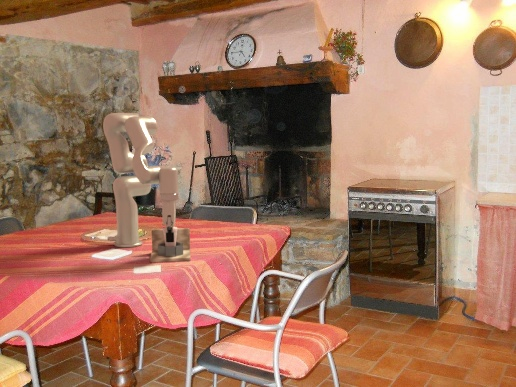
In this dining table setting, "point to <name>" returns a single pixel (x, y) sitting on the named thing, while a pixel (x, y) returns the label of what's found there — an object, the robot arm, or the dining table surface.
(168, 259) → the holder
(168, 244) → the smoothie
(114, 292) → the dining table surface
